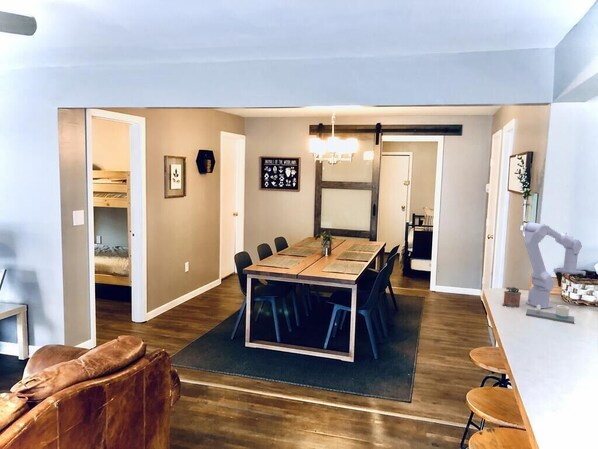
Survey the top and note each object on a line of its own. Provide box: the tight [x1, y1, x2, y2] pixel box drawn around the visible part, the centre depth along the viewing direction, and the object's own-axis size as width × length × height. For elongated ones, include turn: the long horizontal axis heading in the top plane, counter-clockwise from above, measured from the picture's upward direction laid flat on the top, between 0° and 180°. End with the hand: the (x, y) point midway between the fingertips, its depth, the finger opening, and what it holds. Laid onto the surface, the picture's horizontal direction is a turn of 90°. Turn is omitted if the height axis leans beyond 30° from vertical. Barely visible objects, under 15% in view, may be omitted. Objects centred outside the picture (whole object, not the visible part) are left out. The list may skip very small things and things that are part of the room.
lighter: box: [502, 286, 522, 308], centre depth 237 cm, size 8×3×10 cm, turn 84°
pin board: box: [525, 305, 575, 324], centre depth 222 cm, size 20×9×5 cm, turn 60°
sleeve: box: [555, 304, 570, 319], centre depth 219 cm, size 5×5×5 cm
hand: (567, 287), depth 244 cm, fingers open, 7 cm apart
